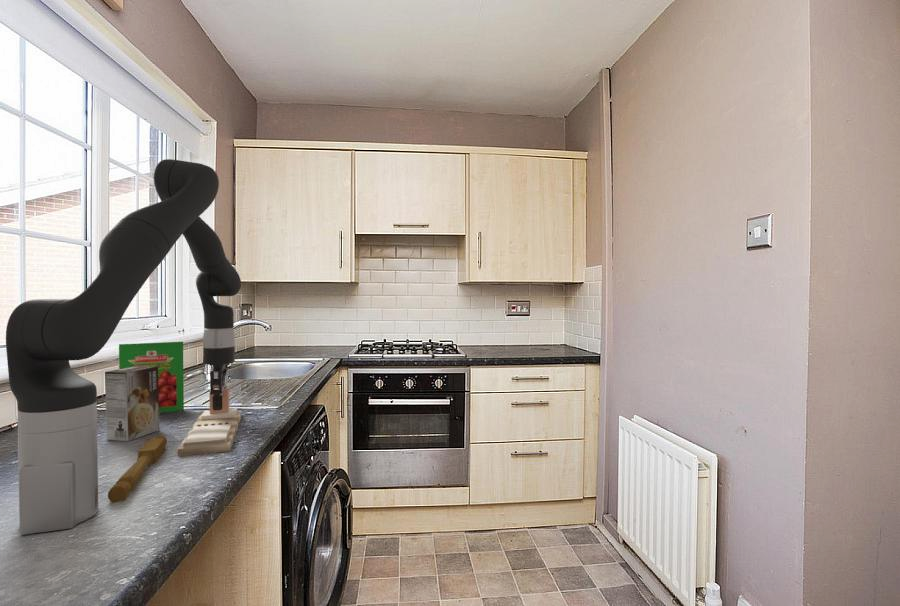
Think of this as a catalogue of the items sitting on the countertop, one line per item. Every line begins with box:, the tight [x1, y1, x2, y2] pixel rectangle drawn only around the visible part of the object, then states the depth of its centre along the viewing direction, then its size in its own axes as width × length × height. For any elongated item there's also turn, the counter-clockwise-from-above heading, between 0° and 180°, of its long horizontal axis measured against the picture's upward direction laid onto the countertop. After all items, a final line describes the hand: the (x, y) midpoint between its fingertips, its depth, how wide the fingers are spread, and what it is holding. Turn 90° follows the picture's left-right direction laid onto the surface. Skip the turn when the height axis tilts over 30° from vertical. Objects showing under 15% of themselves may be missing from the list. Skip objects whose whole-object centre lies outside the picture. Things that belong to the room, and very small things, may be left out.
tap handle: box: [107, 435, 168, 503], centre depth 91 cm, size 3×3×30 cm
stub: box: [200, 387, 238, 420], centre depth 125 cm, size 6×8×7 cm
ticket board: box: [177, 410, 243, 457], centre depth 115 cm, size 30×10×3 cm, turn 20°
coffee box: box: [104, 366, 161, 442], centre depth 113 cm, size 9×6×16 cm
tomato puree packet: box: [118, 341, 185, 414], centre depth 133 cm, size 15×1×20 cm, turn 120°
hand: (219, 406), depth 125 cm, fingers open, 8 cm apart
